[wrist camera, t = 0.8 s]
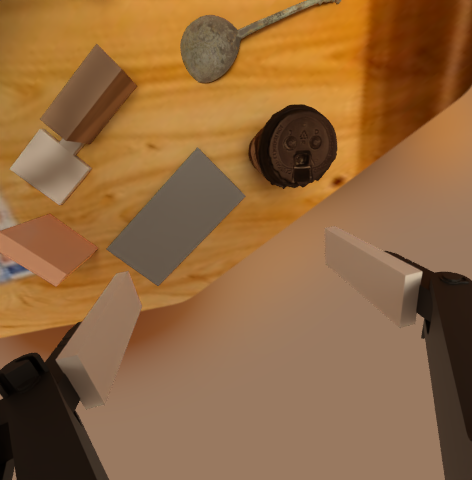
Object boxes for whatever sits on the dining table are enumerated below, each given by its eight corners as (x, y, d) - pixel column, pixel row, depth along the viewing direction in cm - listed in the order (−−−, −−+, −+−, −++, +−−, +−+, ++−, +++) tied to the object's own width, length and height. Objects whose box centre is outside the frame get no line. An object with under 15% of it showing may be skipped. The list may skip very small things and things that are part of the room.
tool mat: (107, 248, 37) (106, 249, 36) (197, 147, 34) (197, 147, 33) (158, 284, 40) (158, 286, 39) (245, 195, 37) (245, 196, 36)
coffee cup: (271, 192, 37) (304, 208, 25) (229, 160, 35) (243, 160, 23) (306, 146, 36) (360, 138, 23) (265, 108, 33) (301, 78, 21)
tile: (39, 225, 34) (-14, 247, 26) (49, 213, 34) (-1, 231, 26) (88, 258, 37) (54, 288, 28) (98, 247, 37) (66, 274, 28)
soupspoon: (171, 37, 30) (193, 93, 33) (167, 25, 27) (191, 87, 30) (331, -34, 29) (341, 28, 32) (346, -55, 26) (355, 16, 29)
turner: (14, 168, 32) (-27, 170, 26) (103, 51, 29) (78, 25, 23) (62, 204, 34) (34, 213, 28) (149, 98, 31) (137, 85, 25)
